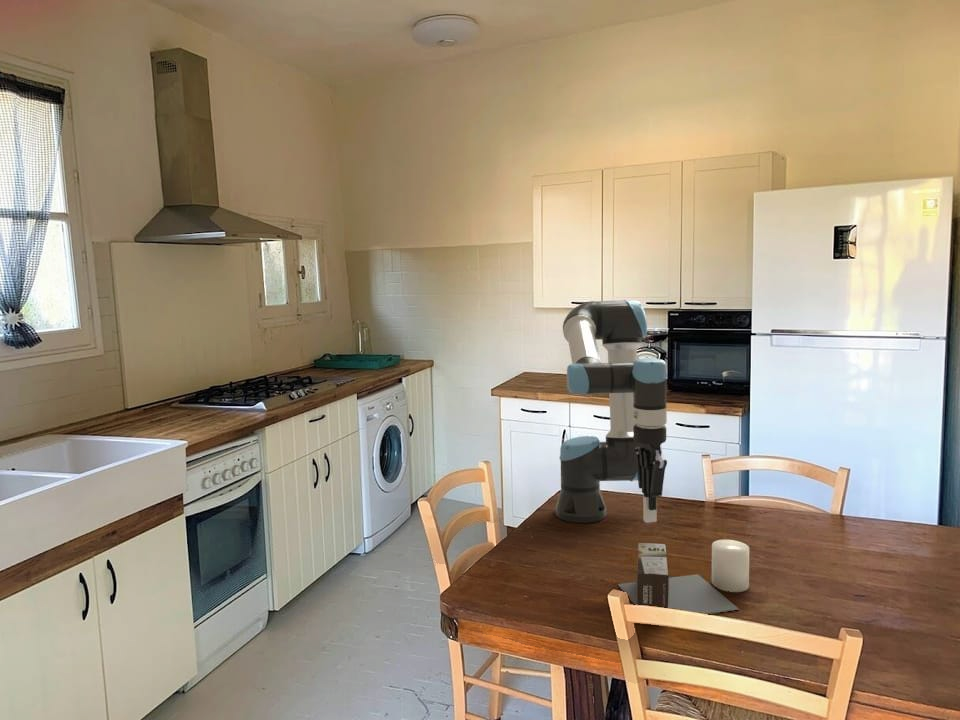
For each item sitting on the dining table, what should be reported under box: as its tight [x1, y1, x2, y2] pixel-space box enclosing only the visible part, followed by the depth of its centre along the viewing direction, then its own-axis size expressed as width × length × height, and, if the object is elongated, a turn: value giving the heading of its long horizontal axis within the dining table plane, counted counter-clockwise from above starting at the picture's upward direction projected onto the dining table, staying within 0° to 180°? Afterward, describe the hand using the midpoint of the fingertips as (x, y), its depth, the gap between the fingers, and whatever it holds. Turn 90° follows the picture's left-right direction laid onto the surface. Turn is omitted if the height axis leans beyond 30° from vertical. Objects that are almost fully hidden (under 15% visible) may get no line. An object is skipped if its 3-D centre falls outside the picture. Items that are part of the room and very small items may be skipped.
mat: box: [617, 573, 739, 615], centre depth 144 cm, size 17×20×1 cm
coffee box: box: [636, 542, 670, 608], centre depth 144 cm, size 9×6×16 cm
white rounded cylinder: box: [711, 539, 750, 593], centre depth 149 cm, size 8×8×9 cm
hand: (650, 521), depth 155 cm, fingers closed
